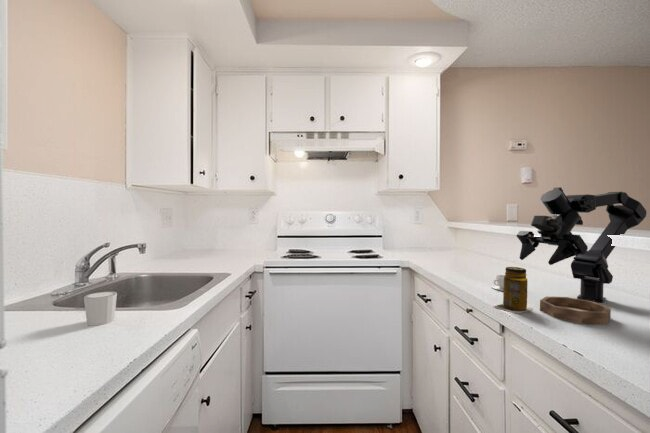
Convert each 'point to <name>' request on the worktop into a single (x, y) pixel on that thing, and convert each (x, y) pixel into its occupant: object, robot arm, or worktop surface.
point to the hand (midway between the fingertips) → (534, 261)
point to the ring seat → (575, 310)
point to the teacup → (499, 282)
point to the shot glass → (100, 308)
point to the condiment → (515, 291)
